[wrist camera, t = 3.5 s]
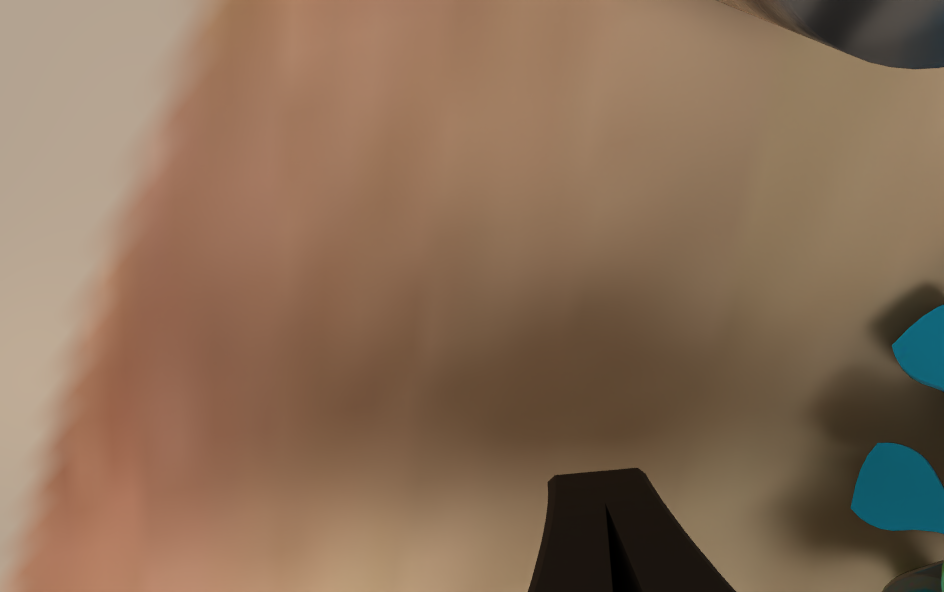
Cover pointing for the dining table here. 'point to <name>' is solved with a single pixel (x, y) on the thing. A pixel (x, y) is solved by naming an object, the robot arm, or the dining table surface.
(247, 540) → the dining table surface
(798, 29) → the spacer field
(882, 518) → the gear
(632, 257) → the dining table surface
